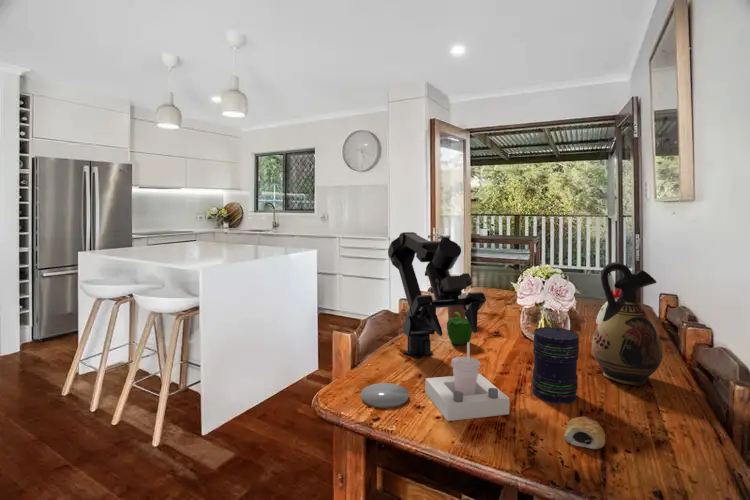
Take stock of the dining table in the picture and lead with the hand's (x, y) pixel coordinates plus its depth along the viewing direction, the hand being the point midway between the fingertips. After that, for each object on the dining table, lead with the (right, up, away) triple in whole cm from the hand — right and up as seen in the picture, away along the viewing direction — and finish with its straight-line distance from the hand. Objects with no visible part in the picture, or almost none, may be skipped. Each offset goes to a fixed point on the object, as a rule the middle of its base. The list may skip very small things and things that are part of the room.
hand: (458, 333), depth 101 cm
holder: (0, -14, -7) cm, 16 cm away
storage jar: (+22, -14, -3) cm, 26 cm away
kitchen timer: (+69, -9, +53) cm, 88 cm away
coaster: (-18, -14, -4) cm, 23 cm away
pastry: (+20, -16, -22) cm, 33 cm away
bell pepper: (+8, -11, +37) cm, 39 cm away
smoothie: (0, -14, -7) cm, 16 cm away
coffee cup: (+12, -8, +63) cm, 65 cm away
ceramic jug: (+44, -13, +7) cm, 46 cm away
